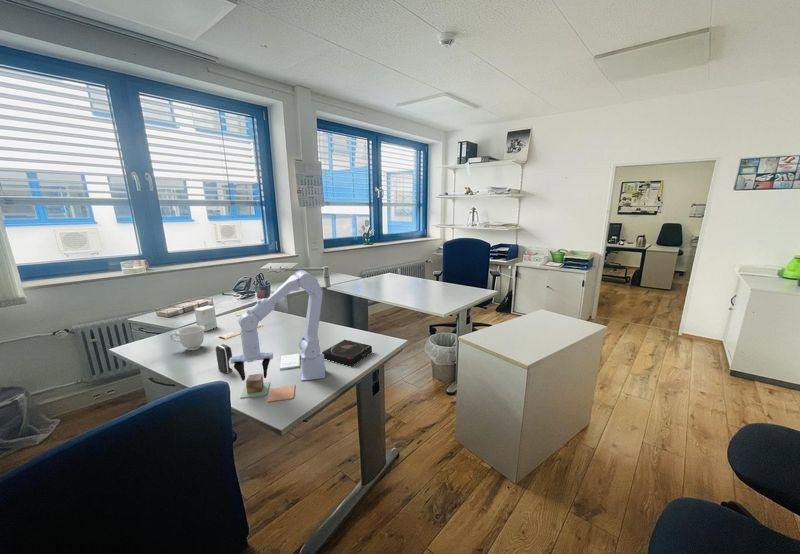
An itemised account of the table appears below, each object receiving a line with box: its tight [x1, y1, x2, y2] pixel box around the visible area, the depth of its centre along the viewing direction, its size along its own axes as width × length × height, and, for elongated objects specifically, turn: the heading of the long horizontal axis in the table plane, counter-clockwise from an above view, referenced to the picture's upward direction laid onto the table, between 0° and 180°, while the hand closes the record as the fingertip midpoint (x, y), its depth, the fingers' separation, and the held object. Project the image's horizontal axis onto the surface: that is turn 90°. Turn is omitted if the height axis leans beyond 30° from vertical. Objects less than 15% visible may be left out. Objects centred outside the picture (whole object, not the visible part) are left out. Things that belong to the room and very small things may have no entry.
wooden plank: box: [219, 323, 264, 340], centre depth 184 cm, size 24×7×2 cm, turn 150°
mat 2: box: [266, 384, 296, 403], centre depth 121 cm, size 9×9×1 cm
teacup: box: [169, 325, 205, 351], centre depth 160 cm, size 12×15×10 cm
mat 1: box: [240, 381, 271, 399], centre depth 123 cm, size 9×9×1 cm
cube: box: [245, 373, 265, 394], centre depth 123 cm, size 5×5×5 cm
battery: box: [215, 343, 233, 374], centre depth 138 cm, size 7×4×11 cm, turn 55°
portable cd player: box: [321, 339, 373, 368], centre depth 152 cm, size 16×17×4 cm
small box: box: [194, 305, 218, 333], centre depth 187 cm, size 8×6×13 cm
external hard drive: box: [279, 353, 301, 371], centre depth 146 cm, size 2×8×12 cm
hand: (254, 378), depth 122 cm, fingers open, 7 cm apart
